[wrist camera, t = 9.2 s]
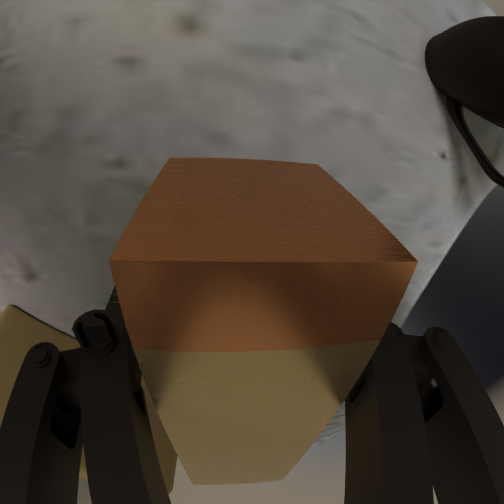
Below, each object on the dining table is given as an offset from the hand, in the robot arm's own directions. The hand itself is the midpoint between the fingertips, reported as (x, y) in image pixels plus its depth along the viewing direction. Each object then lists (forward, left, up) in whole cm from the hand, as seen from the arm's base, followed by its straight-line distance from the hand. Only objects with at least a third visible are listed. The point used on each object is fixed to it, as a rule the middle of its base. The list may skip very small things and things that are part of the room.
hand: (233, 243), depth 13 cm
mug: (-11, +17, -7) cm, 21 cm away
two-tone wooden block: (+3, 0, -1) cm, 3 cm away
